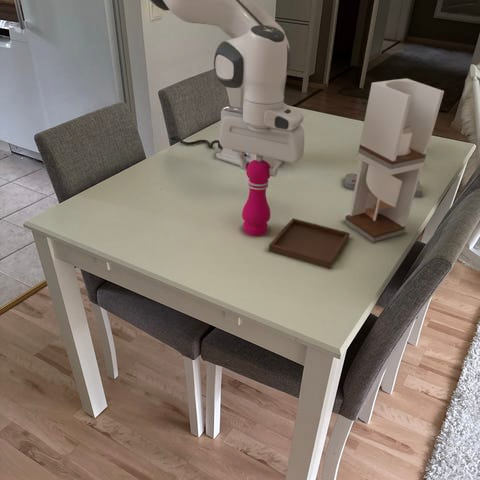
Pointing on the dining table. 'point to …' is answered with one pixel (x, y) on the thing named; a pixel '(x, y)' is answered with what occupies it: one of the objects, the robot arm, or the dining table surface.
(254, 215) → the pepper mill
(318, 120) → the dining table surface
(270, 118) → the robot arm
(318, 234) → the serving tray
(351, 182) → the remote control
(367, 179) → the two-tier shelf stand
